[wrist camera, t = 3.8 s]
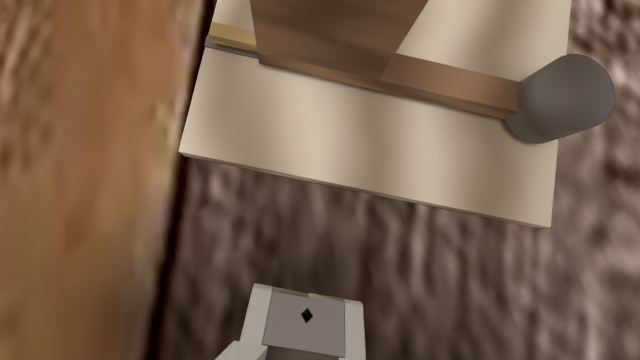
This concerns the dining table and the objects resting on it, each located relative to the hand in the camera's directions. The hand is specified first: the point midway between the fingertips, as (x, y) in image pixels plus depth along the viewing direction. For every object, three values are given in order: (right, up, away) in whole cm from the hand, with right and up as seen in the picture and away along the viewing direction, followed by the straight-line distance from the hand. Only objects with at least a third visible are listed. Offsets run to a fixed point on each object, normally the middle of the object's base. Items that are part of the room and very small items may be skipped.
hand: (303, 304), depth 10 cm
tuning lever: (+4, +9, +9) cm, 13 cm away
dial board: (+5, +12, +11) cm, 18 cm away
